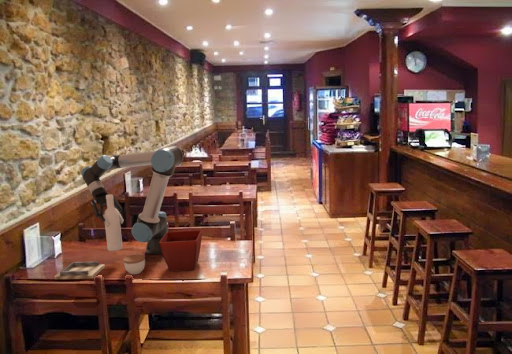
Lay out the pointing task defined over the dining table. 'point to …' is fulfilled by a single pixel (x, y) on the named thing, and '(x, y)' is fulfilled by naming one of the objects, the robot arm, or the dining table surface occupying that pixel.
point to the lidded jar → (134, 263)
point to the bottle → (113, 226)
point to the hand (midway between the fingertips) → (115, 223)
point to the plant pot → (181, 249)
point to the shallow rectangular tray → (80, 270)
